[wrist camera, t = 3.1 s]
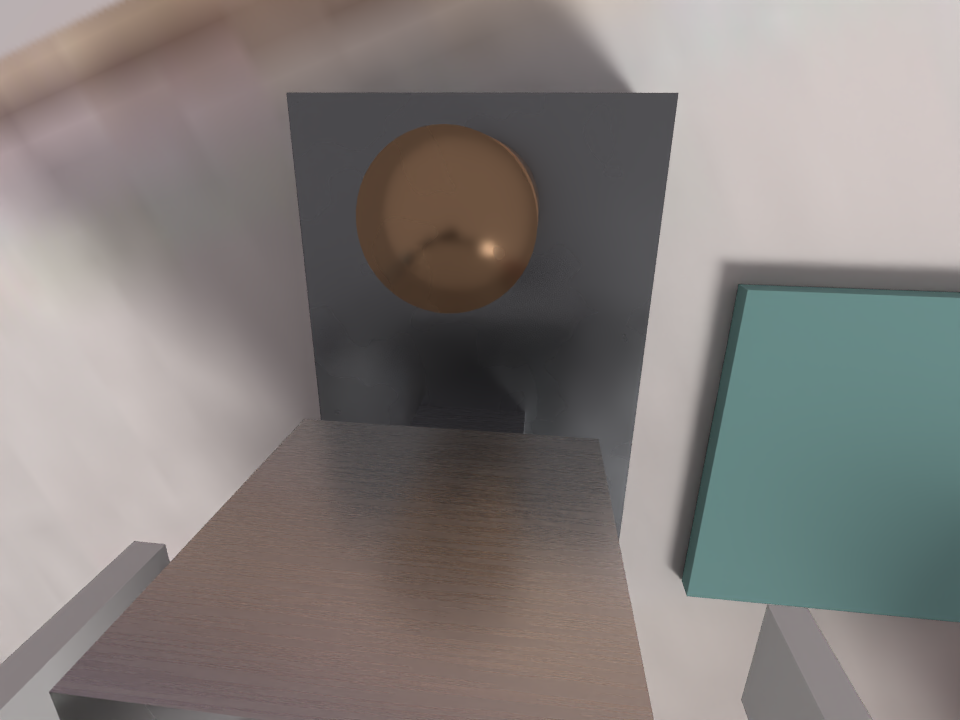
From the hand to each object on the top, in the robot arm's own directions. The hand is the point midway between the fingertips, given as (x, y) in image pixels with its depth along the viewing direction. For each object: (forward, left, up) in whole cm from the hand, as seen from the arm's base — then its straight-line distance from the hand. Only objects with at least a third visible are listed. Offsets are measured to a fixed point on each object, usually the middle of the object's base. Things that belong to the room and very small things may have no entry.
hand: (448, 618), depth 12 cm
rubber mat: (+14, 0, -9) cm, 16 cm away
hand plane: (0, 0, -9) cm, 9 cm away
